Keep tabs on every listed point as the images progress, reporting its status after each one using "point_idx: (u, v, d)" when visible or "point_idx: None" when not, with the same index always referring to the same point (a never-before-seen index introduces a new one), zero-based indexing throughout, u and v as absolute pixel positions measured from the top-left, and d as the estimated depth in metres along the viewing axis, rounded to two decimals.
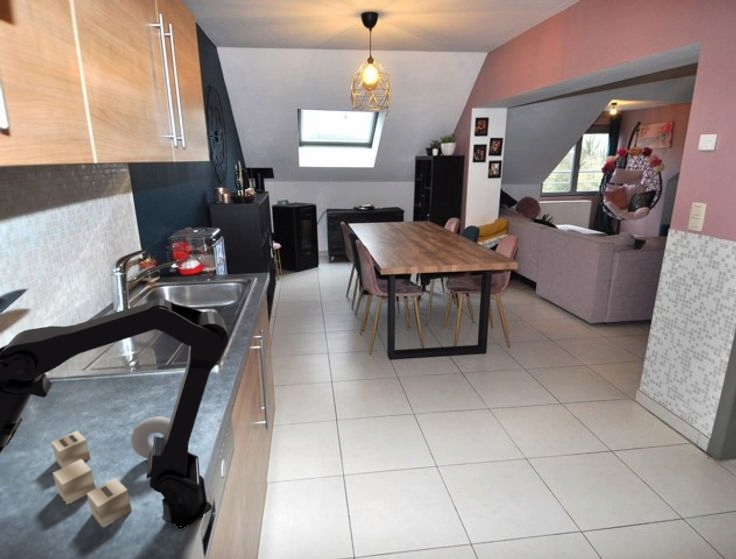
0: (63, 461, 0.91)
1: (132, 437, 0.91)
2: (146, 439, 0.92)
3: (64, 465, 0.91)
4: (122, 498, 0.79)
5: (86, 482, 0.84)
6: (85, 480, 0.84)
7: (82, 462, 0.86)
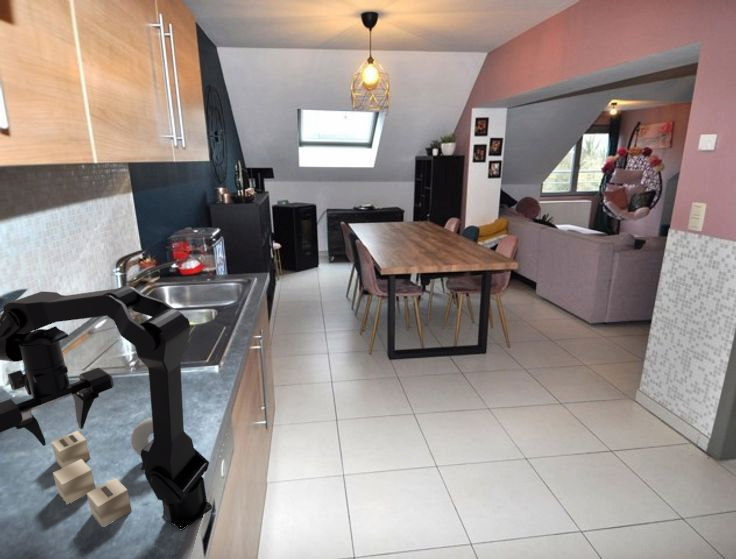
0: (63, 461, 0.91)
1: (132, 437, 0.91)
2: (146, 439, 0.92)
3: (64, 465, 0.91)
4: (122, 498, 0.79)
5: (86, 482, 0.84)
6: (85, 480, 0.84)
7: (82, 462, 0.87)
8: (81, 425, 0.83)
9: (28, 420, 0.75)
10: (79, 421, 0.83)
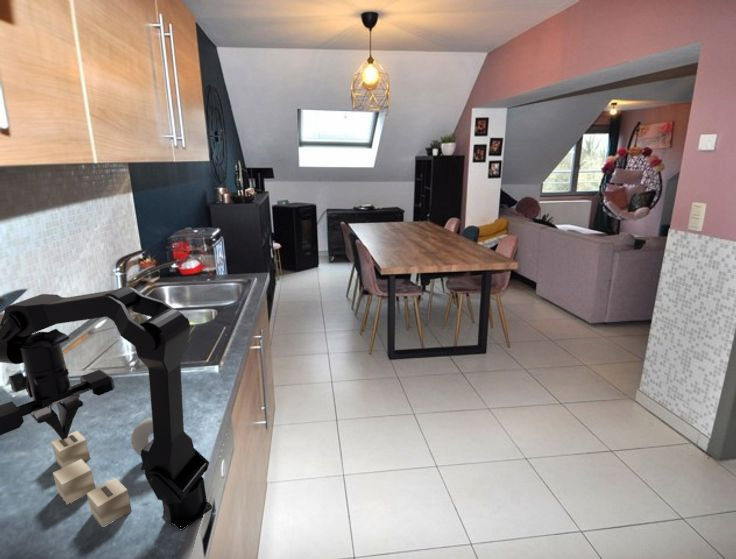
0: (63, 461, 0.91)
1: (132, 437, 0.91)
2: (146, 439, 0.92)
3: (64, 465, 0.91)
4: (122, 498, 0.79)
5: (86, 482, 0.84)
6: (85, 480, 0.84)
7: (82, 462, 0.86)
8: (65, 435, 0.81)
9: (49, 414, 0.77)
10: (63, 431, 0.81)
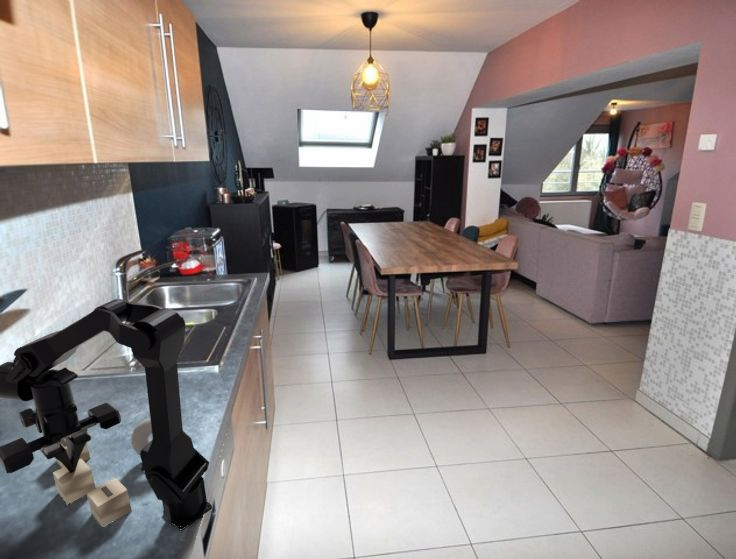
0: None
1: (132, 437, 0.91)
2: (146, 439, 0.92)
3: None
4: (122, 498, 0.79)
5: (86, 482, 0.84)
6: (85, 479, 0.84)
7: (82, 462, 0.86)
8: (73, 468, 0.83)
9: (58, 450, 0.79)
10: (71, 464, 0.83)
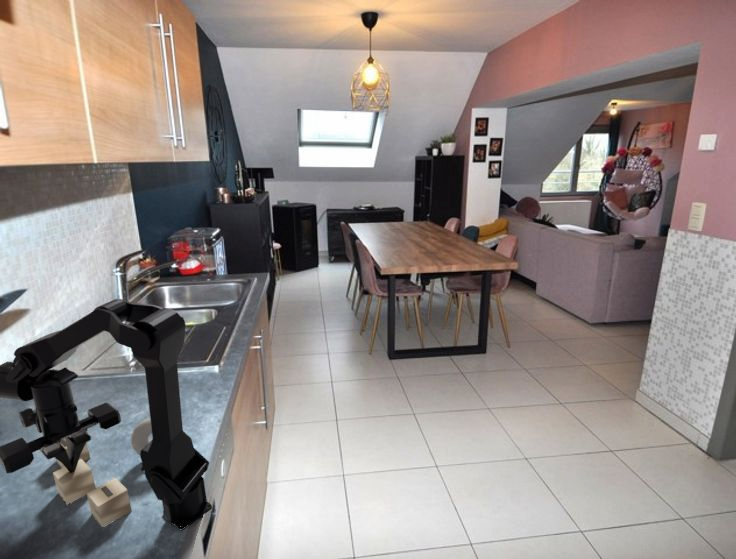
0: None
1: (132, 437, 0.91)
2: (146, 439, 0.92)
3: None
4: (122, 498, 0.79)
5: (86, 482, 0.84)
6: (85, 480, 0.84)
7: (82, 462, 0.86)
8: (73, 468, 0.83)
9: (57, 450, 0.79)
10: (71, 464, 0.83)
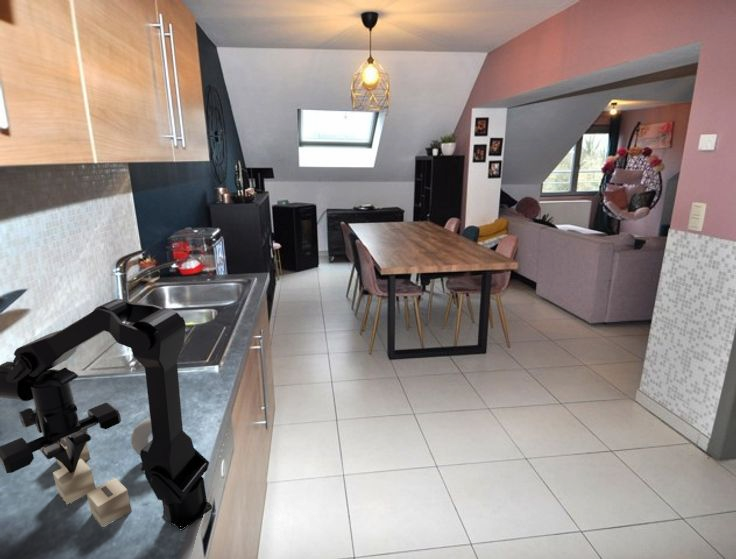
0: None
1: (132, 437, 0.91)
2: (146, 439, 0.92)
3: None
4: (122, 498, 0.79)
5: (86, 482, 0.84)
6: (85, 479, 0.84)
7: (82, 462, 0.86)
8: (73, 468, 0.83)
9: (57, 450, 0.79)
10: (71, 464, 0.83)
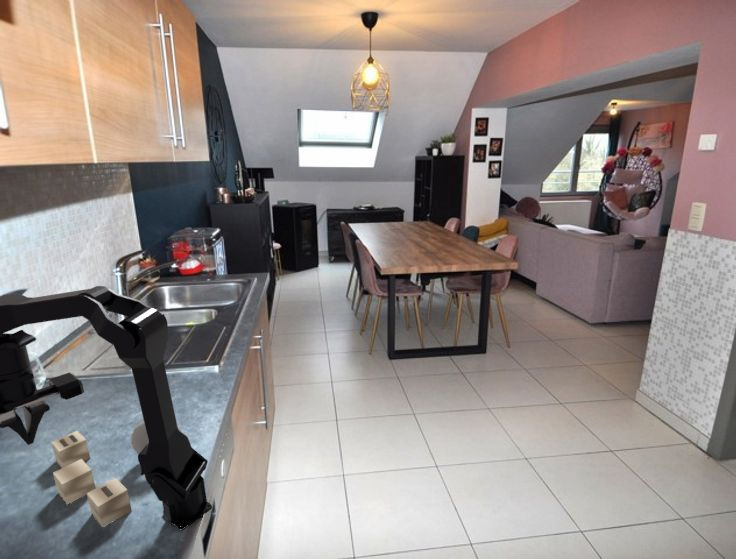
0: (63, 461, 0.91)
1: (132, 437, 0.91)
2: (146, 439, 0.92)
3: (64, 465, 0.91)
4: (122, 498, 0.79)
5: (86, 482, 0.84)
6: (85, 480, 0.84)
7: (82, 462, 0.87)
8: (31, 440, 0.79)
9: (12, 419, 0.75)
10: (29, 435, 0.79)
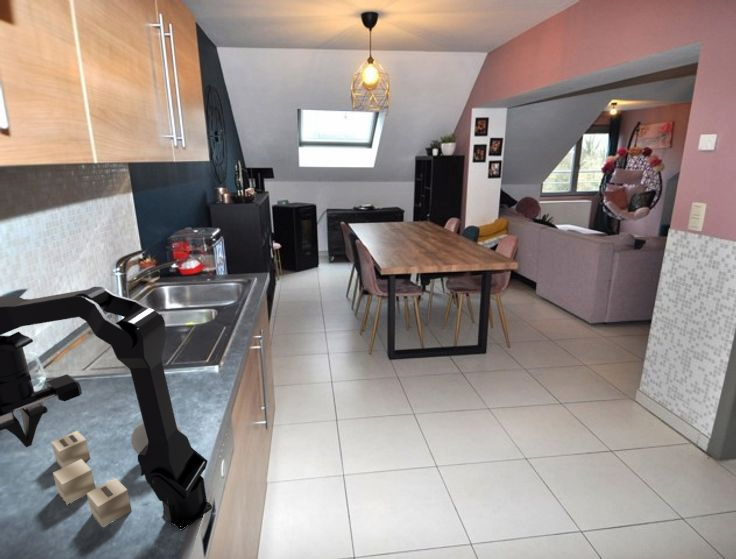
0: (63, 461, 0.91)
1: (132, 437, 0.91)
2: (146, 439, 0.92)
3: (64, 465, 0.91)
4: (122, 498, 0.79)
5: (86, 482, 0.84)
6: (85, 480, 0.84)
7: (82, 462, 0.87)
8: (29, 442, 0.79)
9: (10, 421, 0.74)
10: (27, 438, 0.78)
